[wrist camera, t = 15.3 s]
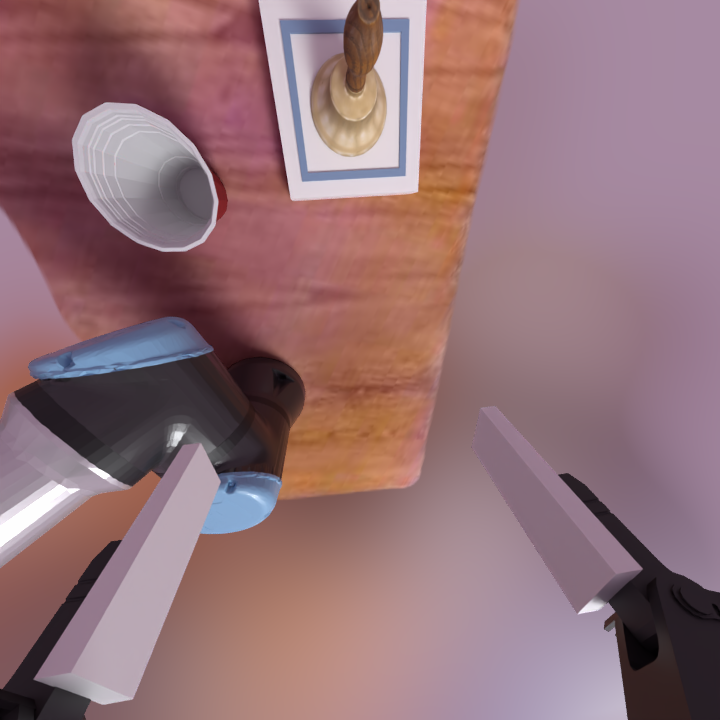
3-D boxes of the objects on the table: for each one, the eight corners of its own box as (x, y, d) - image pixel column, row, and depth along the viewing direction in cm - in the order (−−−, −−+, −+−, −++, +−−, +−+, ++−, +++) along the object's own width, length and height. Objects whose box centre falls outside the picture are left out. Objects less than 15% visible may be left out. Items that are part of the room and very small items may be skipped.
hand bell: (380, 162, 30) (426, 113, 16) (310, 151, 29) (295, 88, 15) (392, 63, 26) (464, -110, 13) (311, 45, 25) (292, -169, 11)
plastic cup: (209, 259, 36) (161, 276, 25) (137, 181, 31) (40, 162, 20) (267, 210, 34) (241, 207, 23) (200, 119, 29) (128, 62, 18)
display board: (293, 200, 34) (290, 199, 31) (264, 16, 26) (256, -9, 23) (411, 193, 35) (418, 191, 32) (417, 15, 27) (427, -9, 24)
